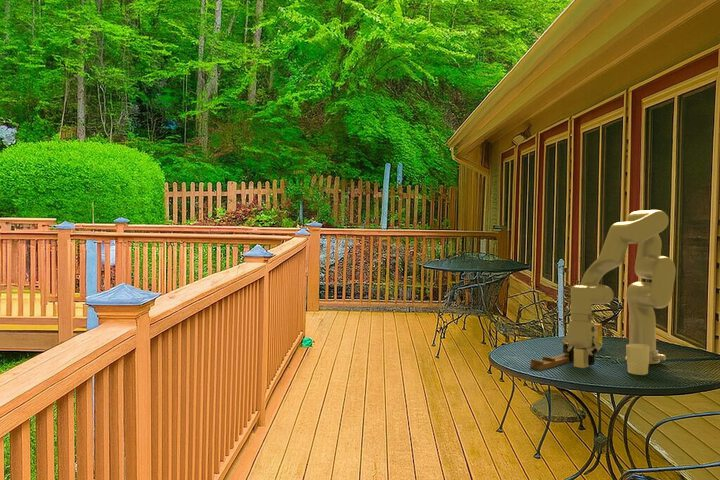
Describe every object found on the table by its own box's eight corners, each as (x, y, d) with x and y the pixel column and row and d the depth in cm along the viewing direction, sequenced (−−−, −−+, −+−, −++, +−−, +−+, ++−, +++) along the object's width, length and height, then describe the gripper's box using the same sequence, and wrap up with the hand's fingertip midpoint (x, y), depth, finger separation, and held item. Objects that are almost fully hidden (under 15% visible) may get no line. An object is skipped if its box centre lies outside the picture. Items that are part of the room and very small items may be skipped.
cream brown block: (590, 366, 228) (590, 348, 228) (583, 368, 225) (583, 349, 225) (581, 364, 232) (581, 346, 231) (573, 366, 228) (573, 348, 228)
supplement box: (602, 347, 262) (602, 323, 262) (599, 350, 257) (599, 325, 257) (588, 346, 266) (588, 322, 265) (585, 348, 261) (585, 324, 260)
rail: (583, 358, 241) (583, 336, 241) (541, 370, 223) (541, 346, 223) (572, 356, 245) (572, 335, 245) (530, 367, 227) (530, 344, 227)
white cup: (648, 376, 211) (648, 348, 211) (624, 373, 216) (624, 346, 215) (650, 371, 218) (650, 344, 218) (627, 369, 222) (627, 343, 222)
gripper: (607, 319, 223) (607, 365, 224) (566, 314, 237) (566, 358, 237) (597, 321, 219) (597, 368, 219) (555, 316, 232) (556, 360, 232)
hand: (581, 362), depth 228 cm, fingers open, 7 cm apart
